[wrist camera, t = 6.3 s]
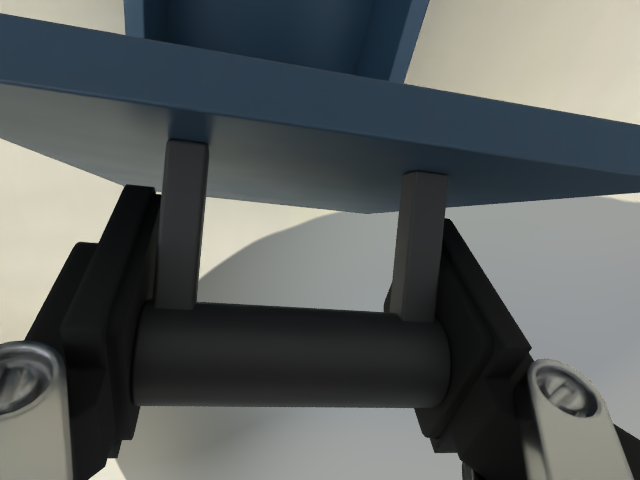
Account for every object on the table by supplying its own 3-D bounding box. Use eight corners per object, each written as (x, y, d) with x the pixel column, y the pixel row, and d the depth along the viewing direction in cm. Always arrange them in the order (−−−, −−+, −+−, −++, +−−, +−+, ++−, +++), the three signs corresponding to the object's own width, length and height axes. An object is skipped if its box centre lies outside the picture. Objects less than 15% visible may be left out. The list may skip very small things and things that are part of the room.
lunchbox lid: (-229, -29, 5) (-267, 487, 5) (722, 138, 7) (688, 464, 7) (131, 173, 22) (122, 279, 22) (368, 199, 25) (359, 294, 25)
